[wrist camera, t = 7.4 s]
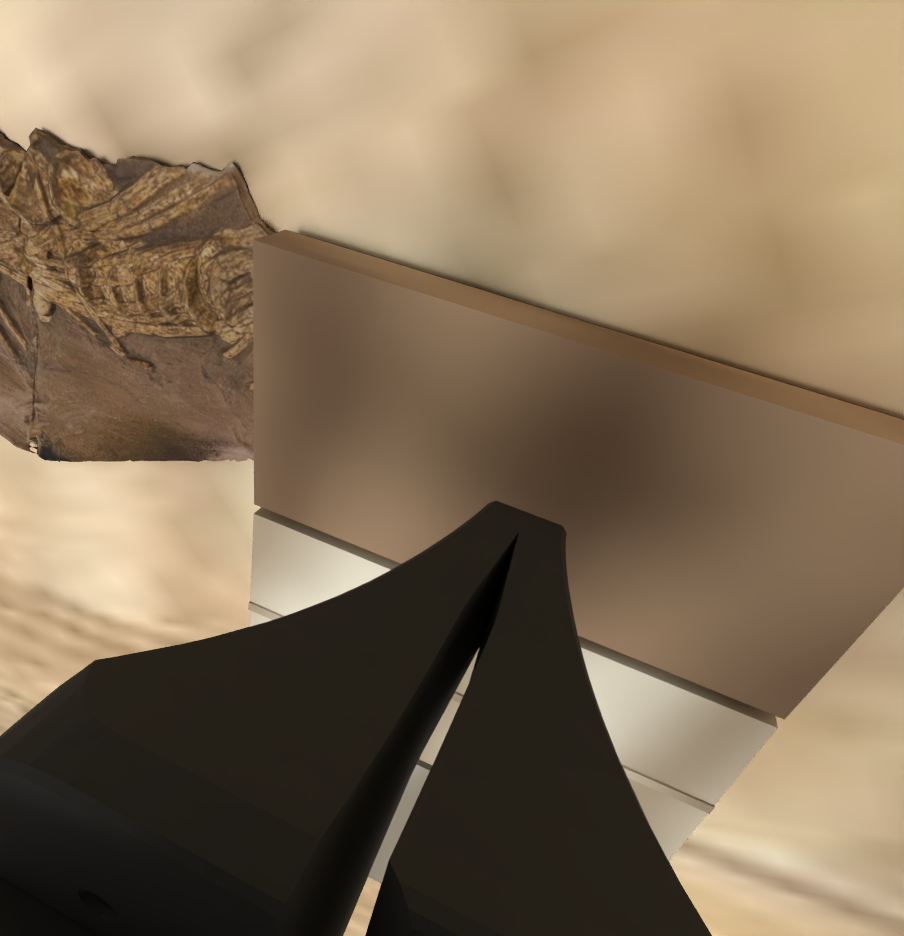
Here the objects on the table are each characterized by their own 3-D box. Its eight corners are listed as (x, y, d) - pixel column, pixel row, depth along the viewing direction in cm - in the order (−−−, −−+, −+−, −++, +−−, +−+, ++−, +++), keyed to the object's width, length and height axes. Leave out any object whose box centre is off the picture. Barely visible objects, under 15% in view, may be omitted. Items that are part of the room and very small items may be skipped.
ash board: (770, 688, 15) (777, 730, 14) (661, 832, 18) (659, 874, 17) (278, 492, 17) (252, 515, 16) (268, 653, 21) (245, 680, 20)
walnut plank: (279, 481, 17) (254, 503, 16) (285, 229, 13) (252, 239, 12) (779, 678, 14) (784, 719, 14) (975, 442, 11) (1004, 476, 10)
